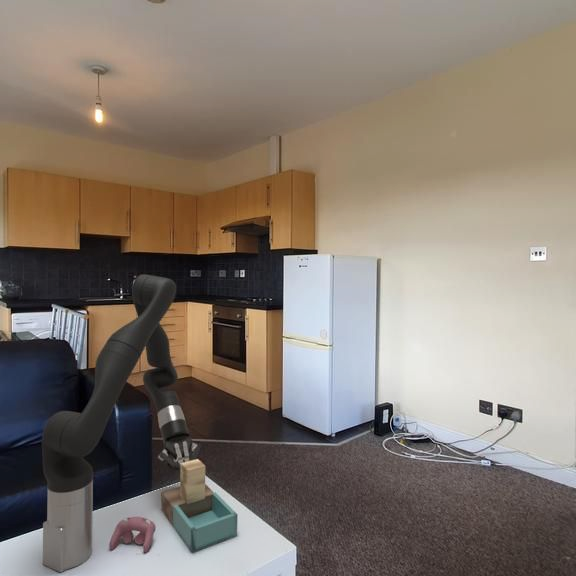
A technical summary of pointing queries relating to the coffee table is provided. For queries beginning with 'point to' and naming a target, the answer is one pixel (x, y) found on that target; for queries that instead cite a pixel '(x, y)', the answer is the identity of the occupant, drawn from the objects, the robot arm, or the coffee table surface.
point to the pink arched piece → (134, 524)
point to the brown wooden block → (184, 503)
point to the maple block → (192, 481)
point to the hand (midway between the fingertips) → (187, 481)
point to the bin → (206, 525)
